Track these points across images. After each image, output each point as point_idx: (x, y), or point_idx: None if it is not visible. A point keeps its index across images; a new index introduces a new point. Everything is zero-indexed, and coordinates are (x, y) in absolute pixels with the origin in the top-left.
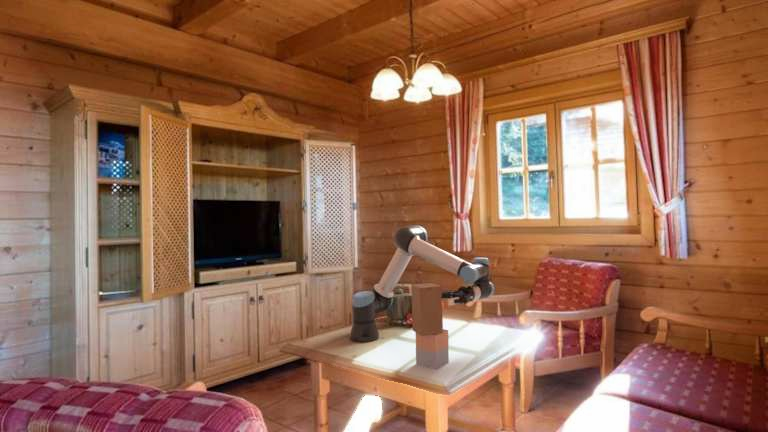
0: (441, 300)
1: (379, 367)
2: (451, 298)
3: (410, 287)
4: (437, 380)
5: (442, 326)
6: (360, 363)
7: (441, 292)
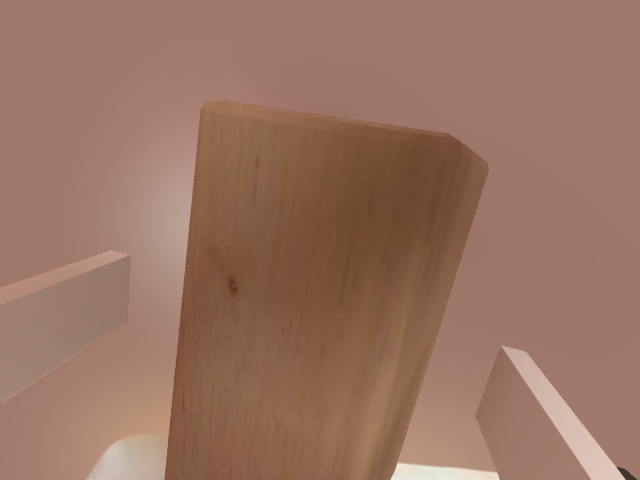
0: (190, 244)
1: (407, 471)
2: (71, 274)
3: None
4: (151, 456)
5: (169, 443)
6: (486, 473)
7: (196, 168)
